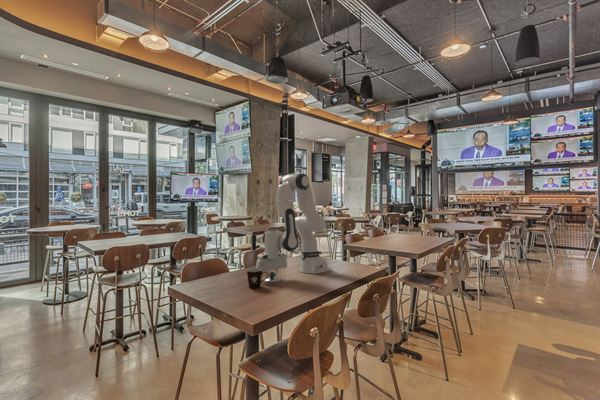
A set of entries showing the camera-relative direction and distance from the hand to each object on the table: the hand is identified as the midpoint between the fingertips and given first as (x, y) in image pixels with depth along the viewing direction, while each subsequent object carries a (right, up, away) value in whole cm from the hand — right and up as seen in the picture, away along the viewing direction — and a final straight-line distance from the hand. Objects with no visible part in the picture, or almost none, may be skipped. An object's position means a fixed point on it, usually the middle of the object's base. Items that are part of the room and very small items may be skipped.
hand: (271, 276), depth 189 cm
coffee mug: (-7, -3, -16) cm, 17 cm away
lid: (0, -2, 0) cm, 2 cm away
